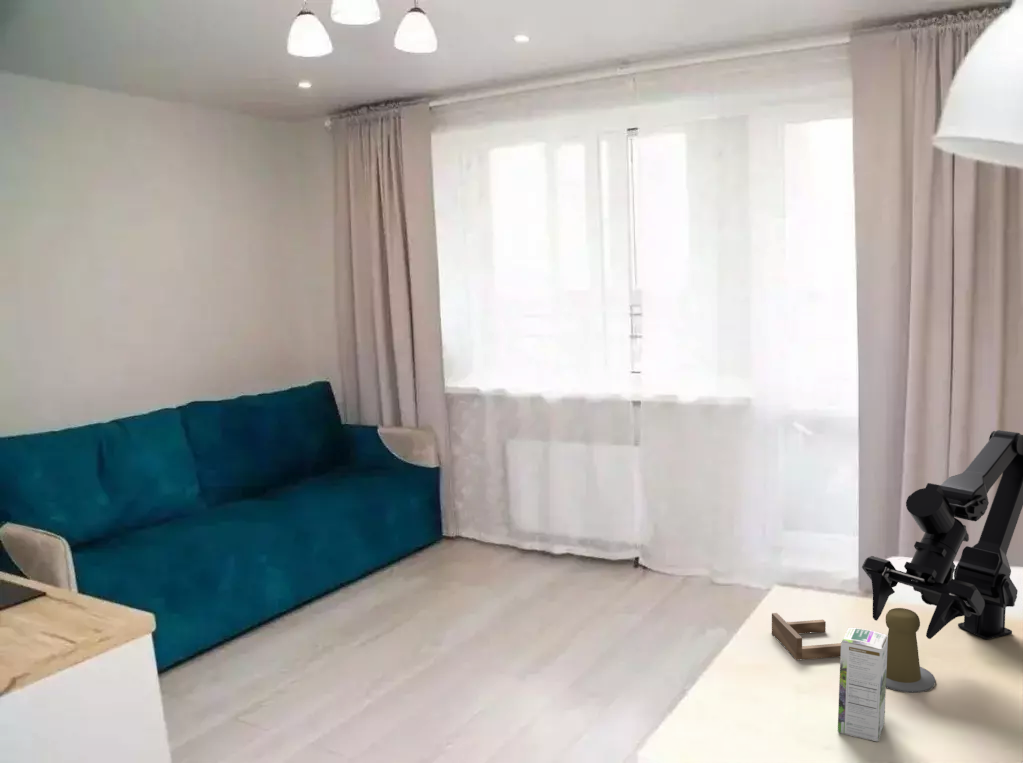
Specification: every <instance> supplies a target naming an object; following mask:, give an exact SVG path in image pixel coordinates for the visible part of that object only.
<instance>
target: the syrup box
mask: <svg viewBox="0 0 1023 763" xmlns="http://www.w3.org/2000/svg"><path fill="white" fill-rule="evenodd" d="M840 643H841V657H839V658H840V660H839V661H840V662H839V681H838V682H839V686H838V688H839V689H838V711H837V712H838V713H837V733H839V734H843V735H847V736H851V737H855V738H859V739H864V740H868V741H874V742H879V740H880V738H881V734H882V731H883V729H884V724H885V715H886V714H885V712H886V693H887V692H886V691H887V690H886V689H887V688H886V672H887V645H888V634H884V633H881V632H878V631H874V630H870V629H865V628H859V627H858V628H857V627H856V628H855V627H848V629H847V631H846V632H845V634H844V637H843V639H842V640H841V641H840Z"/></svg>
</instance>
